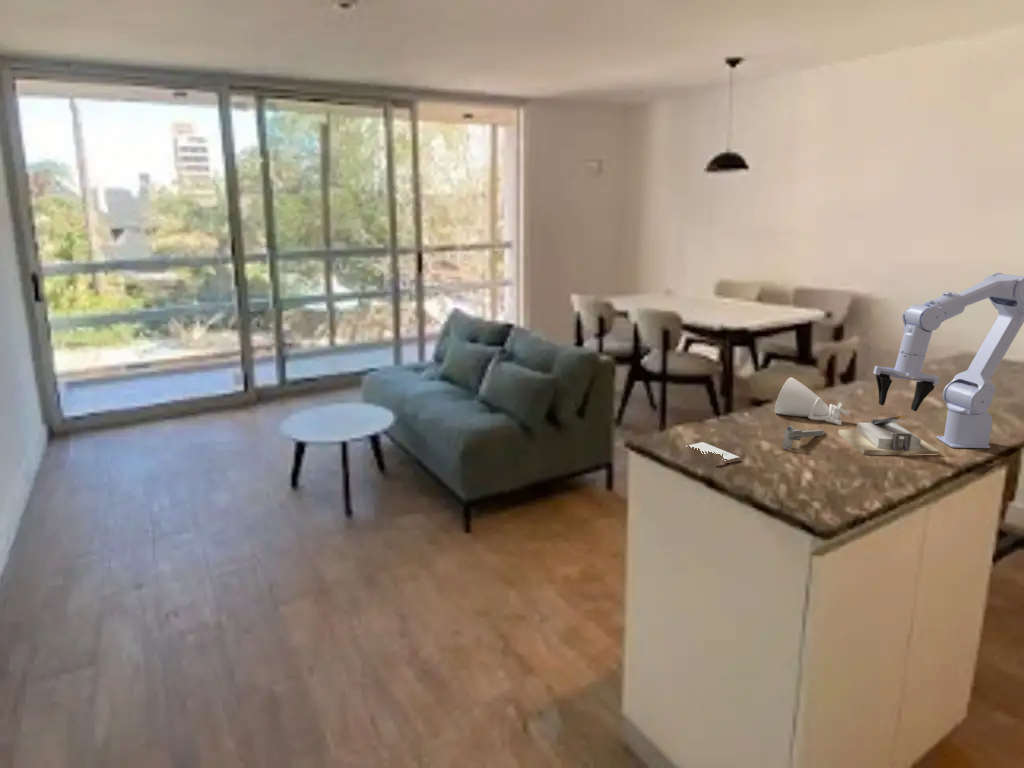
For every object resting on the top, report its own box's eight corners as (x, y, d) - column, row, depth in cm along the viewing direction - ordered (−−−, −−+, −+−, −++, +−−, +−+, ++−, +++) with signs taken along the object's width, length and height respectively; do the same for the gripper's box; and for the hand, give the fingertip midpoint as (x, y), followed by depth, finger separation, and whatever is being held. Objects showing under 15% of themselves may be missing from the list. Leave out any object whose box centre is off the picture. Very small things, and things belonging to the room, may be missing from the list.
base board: (907, 434, 186) (910, 414, 185) (938, 455, 171) (942, 434, 169) (838, 433, 188) (840, 413, 186) (863, 454, 172) (866, 433, 171)
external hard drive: (703, 447, 180) (740, 462, 169) (679, 453, 176) (715, 468, 165) (703, 441, 179) (740, 456, 169) (679, 447, 175) (716, 462, 165)
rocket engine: (856, 392, 192) (793, 369, 202) (838, 424, 189) (774, 399, 198) (852, 414, 202) (791, 391, 211) (835, 444, 198) (774, 420, 208)
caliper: (786, 451, 175) (788, 428, 174) (782, 450, 176) (784, 427, 175) (825, 434, 188) (828, 412, 186) (821, 433, 189) (824, 411, 187)
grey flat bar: (884, 424, 183) (884, 422, 183) (909, 418, 171) (908, 416, 171) (873, 424, 183) (873, 422, 183) (896, 418, 171) (896, 415, 171)
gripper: (885, 351, 167) (871, 405, 170) (950, 361, 164) (934, 416, 167) (876, 347, 174) (863, 399, 177) (938, 357, 171) (923, 409, 174)
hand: (897, 407), depth 172 cm, fingers open, 7 cm apart
